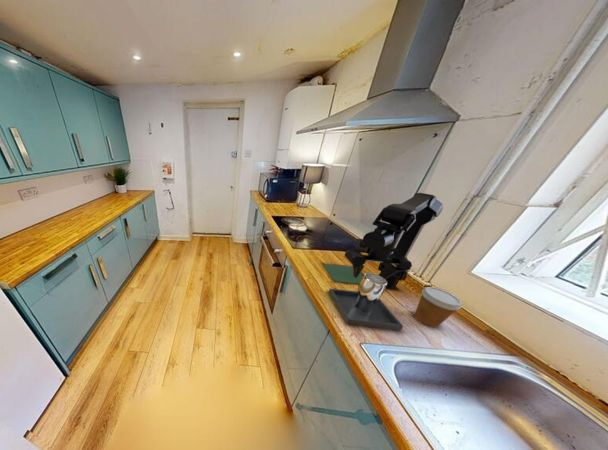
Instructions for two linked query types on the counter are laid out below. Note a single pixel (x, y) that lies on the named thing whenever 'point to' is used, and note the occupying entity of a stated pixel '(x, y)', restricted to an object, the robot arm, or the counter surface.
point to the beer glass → (369, 293)
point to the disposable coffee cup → (436, 306)
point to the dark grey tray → (376, 319)
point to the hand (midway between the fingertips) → (368, 278)
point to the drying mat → (343, 273)
